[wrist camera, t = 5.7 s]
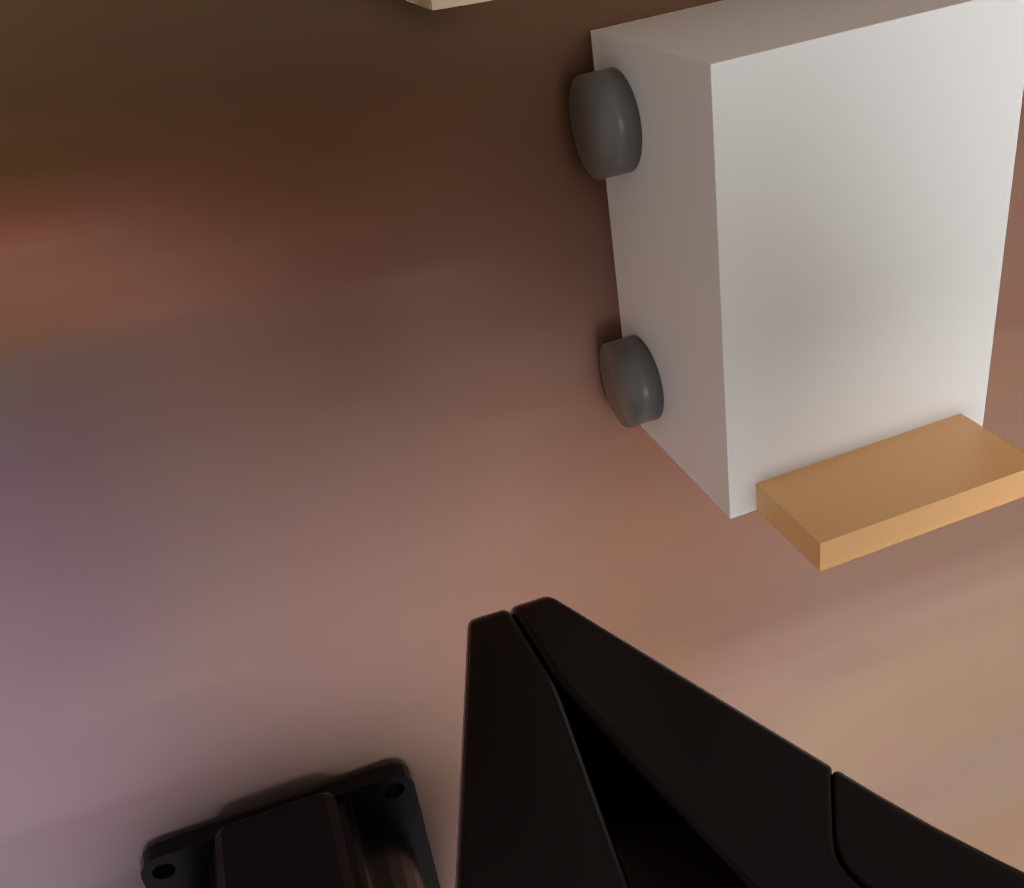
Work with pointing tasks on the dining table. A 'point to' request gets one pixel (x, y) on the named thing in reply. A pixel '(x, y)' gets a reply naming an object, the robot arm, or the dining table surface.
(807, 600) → the dining table surface
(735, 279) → the trolley
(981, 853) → the robot arm
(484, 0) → the bay
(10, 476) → the dining table surface
